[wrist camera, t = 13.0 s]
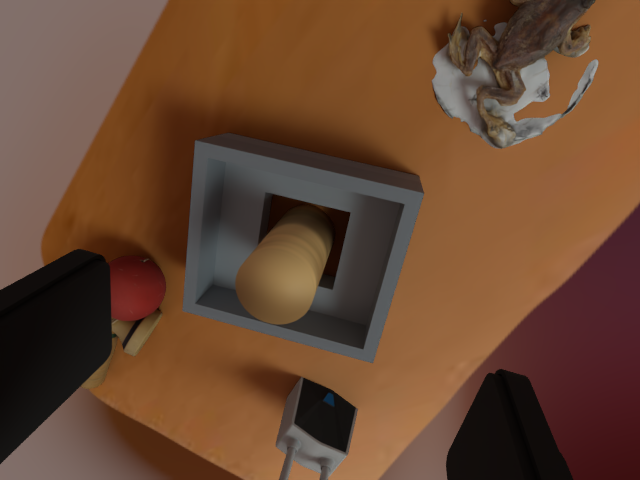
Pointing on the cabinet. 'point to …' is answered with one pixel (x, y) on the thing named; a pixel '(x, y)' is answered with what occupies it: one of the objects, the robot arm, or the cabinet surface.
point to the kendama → (132, 307)
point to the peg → (286, 266)
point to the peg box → (251, 228)
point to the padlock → (315, 429)
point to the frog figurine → (510, 69)
